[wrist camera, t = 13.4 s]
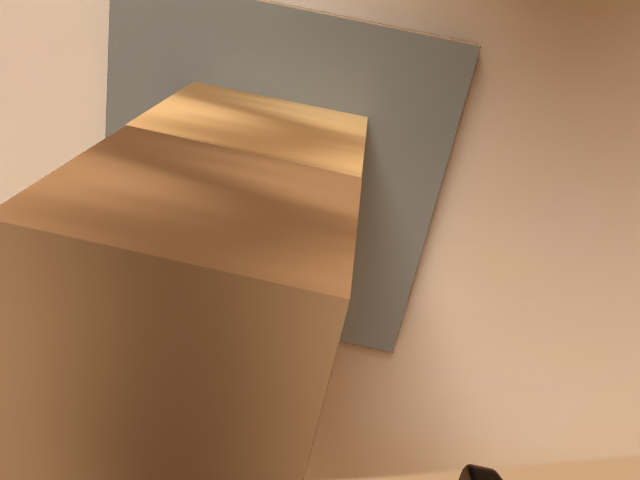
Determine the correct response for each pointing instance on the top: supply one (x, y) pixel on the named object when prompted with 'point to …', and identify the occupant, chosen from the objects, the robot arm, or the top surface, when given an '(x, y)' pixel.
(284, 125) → the oak cube
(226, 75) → the slate coaster
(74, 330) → the walnut cube
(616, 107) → the top surface
